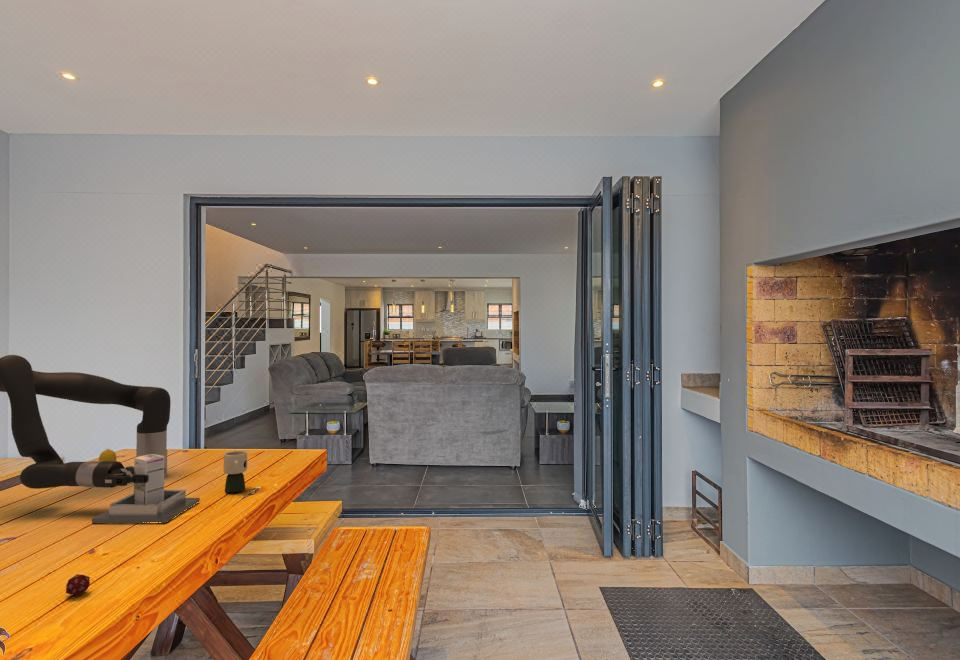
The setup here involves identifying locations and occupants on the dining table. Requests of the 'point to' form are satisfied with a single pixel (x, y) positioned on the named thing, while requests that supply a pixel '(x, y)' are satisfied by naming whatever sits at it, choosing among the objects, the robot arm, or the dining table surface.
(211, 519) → the dining table surface
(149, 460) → the syrup box
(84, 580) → the dice
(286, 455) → the dining table surface
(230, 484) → the beige trophy cup
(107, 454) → the lemon
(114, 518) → the collar stand
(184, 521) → the dining table surface
